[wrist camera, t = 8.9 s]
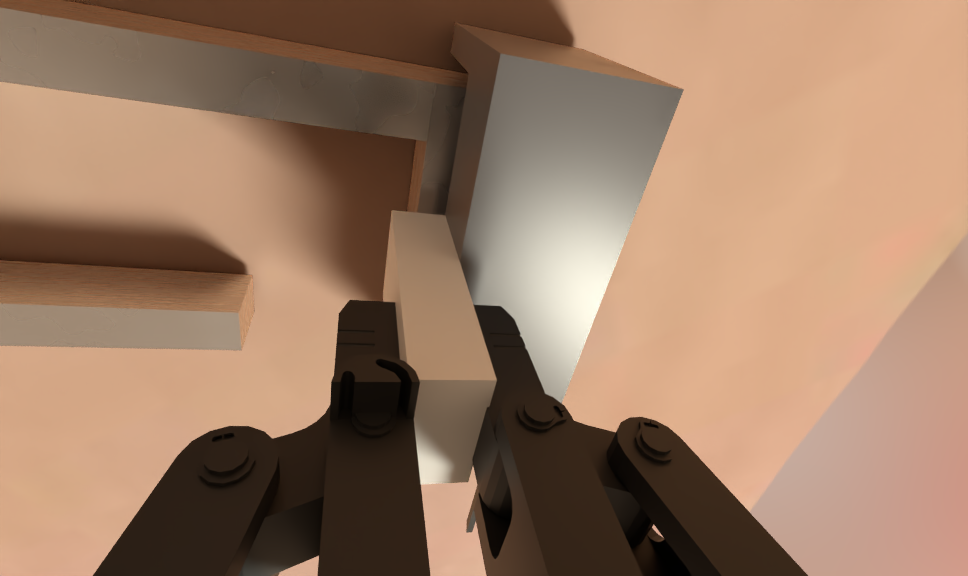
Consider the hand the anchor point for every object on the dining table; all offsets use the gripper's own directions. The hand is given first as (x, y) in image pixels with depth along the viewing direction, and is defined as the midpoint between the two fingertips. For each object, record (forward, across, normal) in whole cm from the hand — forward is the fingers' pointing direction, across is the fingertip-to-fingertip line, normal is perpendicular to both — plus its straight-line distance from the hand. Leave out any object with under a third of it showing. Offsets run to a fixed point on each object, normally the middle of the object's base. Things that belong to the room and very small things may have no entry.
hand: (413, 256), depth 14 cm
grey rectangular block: (+3, +3, 0) cm, 4 cm away
